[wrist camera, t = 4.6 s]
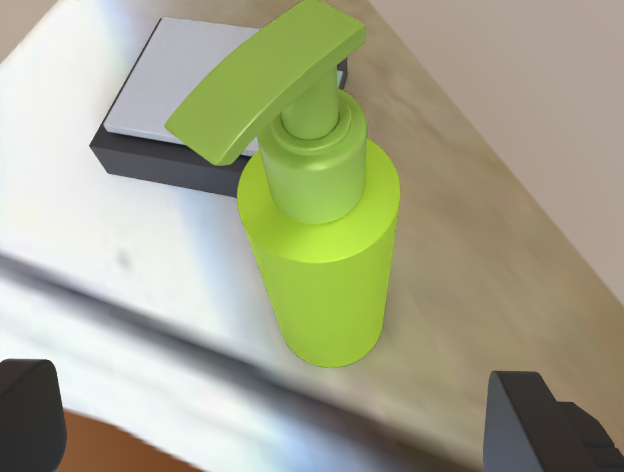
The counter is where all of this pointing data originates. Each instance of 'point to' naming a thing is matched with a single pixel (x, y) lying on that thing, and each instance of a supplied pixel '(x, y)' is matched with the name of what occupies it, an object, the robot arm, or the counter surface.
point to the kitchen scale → (172, 108)
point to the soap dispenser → (304, 178)
